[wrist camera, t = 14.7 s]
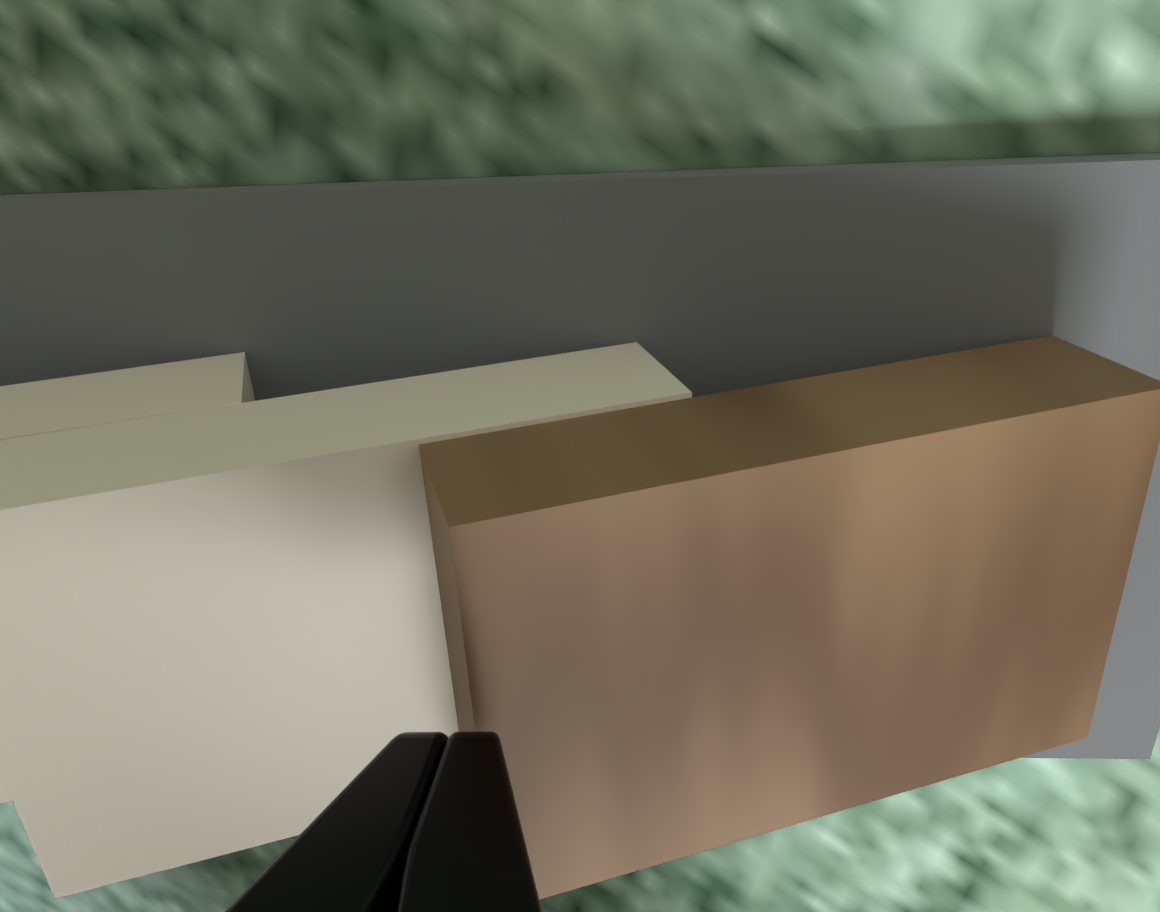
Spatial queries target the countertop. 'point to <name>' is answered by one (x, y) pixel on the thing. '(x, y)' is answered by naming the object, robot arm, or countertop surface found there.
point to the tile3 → (121, 401)
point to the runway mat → (618, 291)
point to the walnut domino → (787, 593)
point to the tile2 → (239, 605)
